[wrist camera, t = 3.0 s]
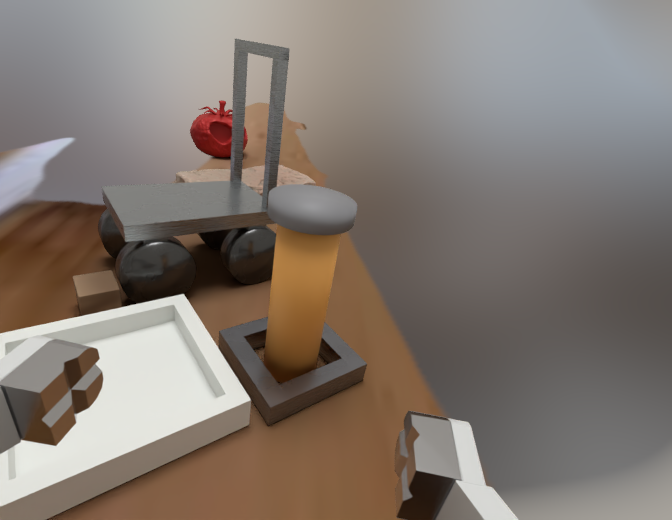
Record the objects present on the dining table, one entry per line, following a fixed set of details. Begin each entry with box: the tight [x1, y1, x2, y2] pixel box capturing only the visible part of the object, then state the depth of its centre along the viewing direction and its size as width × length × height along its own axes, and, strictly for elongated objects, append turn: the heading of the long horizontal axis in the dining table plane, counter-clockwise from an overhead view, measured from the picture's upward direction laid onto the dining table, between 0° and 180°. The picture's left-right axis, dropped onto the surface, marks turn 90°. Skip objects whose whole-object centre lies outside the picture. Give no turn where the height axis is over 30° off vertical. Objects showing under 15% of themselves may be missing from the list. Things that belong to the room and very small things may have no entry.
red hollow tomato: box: [190, 101, 248, 157], centre depth 68 cm, size 10×10×9 cm
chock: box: [73, 270, 122, 316], centre depth 27 cm, size 2×3×2 cm
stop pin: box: [263, 184, 357, 383], centre depth 23 cm, size 5×5×12 cm
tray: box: [0, 294, 251, 520], centre depth 21 cm, size 11×11×2 cm
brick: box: [174, 165, 316, 196], centre depth 49 cm, size 17×8×5 cm, turn 131°
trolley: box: [98, 39, 289, 303], centre depth 30 cm, size 13×9×19 cm
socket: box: [219, 317, 367, 426], centre depth 25 cm, size 7×7×2 cm
